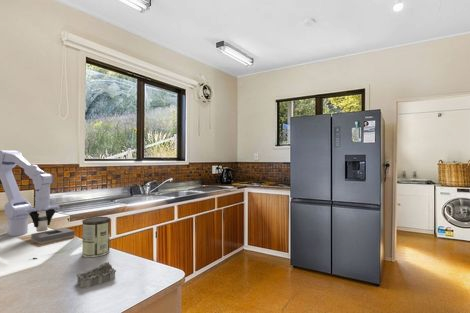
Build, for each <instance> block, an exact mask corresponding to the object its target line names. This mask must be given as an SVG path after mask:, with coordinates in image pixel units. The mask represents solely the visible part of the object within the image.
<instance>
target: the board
mask: <svg viewBox="0 0 470 313" xmlns="http://www.w3.org/2000/svg"><path fill="white" fill-rule="evenodd" d="M16 238H17V239H19V240H21V241H24V242H26V243H29V244H30V245H33V246H35V247H37V248H41V247H45V246H49V245H55V244H58V243H63V242H67V241H71V240H74V239H79V238H80V237H79V236H76V235H74V237H72V238H68V239H63V240H59V241H54V242H50V243H46V244H39V243H36V242H34V241H31V234H28V235H21V236H18V237H17V236H16Z"/></svg>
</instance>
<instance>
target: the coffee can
mask: <svg viewBox="0 0 470 313" xmlns="http://www.w3.org/2000/svg"><path fill="white" fill-rule="evenodd" d="M110 222H111V218H110V217H109V216H94V217H93V216H91V217H87V218H84V219H82V250H81V251H82V252H81V253H82V254H81V255H82V256H83V257H86V258H97V257H102V256H105V255H108V254H109V253H110V244H111V243H110V238H111V237H110V236H111V235H110V230H111V227H110V226H111V223H110Z"/></svg>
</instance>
